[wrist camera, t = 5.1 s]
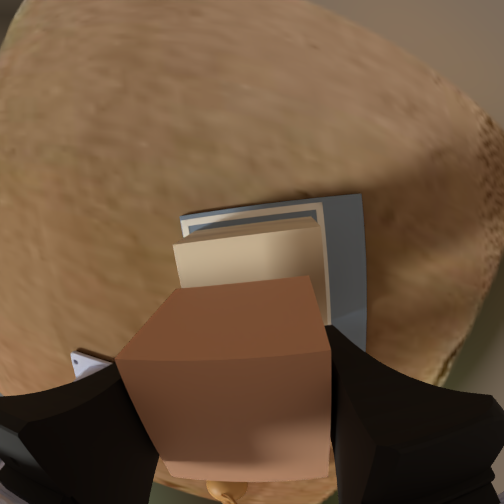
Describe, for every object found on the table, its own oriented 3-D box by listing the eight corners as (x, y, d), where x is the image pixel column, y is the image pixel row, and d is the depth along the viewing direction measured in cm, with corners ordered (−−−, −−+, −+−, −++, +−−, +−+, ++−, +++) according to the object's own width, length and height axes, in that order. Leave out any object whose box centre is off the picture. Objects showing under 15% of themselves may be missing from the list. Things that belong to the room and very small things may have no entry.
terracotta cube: (315, 384, 12) (327, 477, 7) (202, 391, 12) (172, 476, 7) (309, 275, 11) (330, 349, 6) (176, 288, 11) (114, 359, 6)
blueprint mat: (360, 401, 20) (361, 404, 20) (225, 413, 22) (224, 417, 21) (359, 193, 17) (361, 193, 16) (181, 215, 18) (179, 216, 18)
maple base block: (319, 324, 19) (328, 357, 15) (214, 333, 19) (200, 367, 16) (311, 216, 17) (320, 226, 13) (194, 231, 18) (172, 244, 14)
